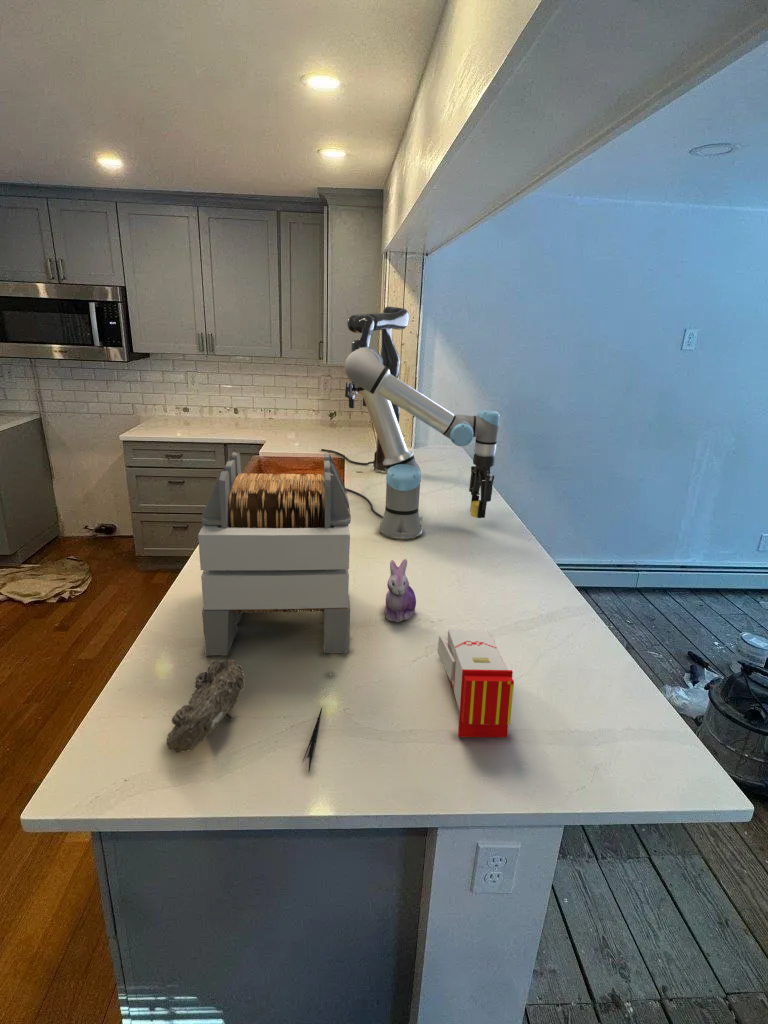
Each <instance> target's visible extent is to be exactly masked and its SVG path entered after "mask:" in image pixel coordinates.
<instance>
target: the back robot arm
mask: <svg viewBox="0 0 768 1024" xmlns="http://www.w3.org/2000/svg"><path fill="white" fill-rule="evenodd" d="M409 323H410V313H409V311H408V310H407V309H406V308H403V307H398V306H386V307H384V309H383V311H382V312H371V313H354V314H352V315H350V316H349V317H348V319H347V322H346V325H347V328H348V330H349V331H350V332H351V333H353V334H361V336H360V338H357V339H353V340H352V341H351V348H350V349H351V351H350V352H351V353H352V352H353V351H355V350H357V349H359V348H362V347H370V344H371V340H372V336H373V332H377V331H381V344H380V345H381V347H380V355H381V357H382V360H383V365H384V366H385V367H387V368H388V369H389V370H390V374H392V375H393V376H395V377H396V378H398V379H399V375H400V369H401V357H400V355H399V352H398V350H397V348H396V345H395V343H394V340H393V330H398V331H403V330H405V329H406V328H407V326H408V325H409ZM351 353H350V354H351ZM344 389H345V390H344V391H345V392H344V397H345V398H347V399H348V407H349V409H355V398H356V396H357V395H358V394H359V393H358V392H357V391H356V388H355V385H354V383H353V382H352V381H350V382H348V381H347V382H345V388H344ZM391 404H392V407H393V410H394V413H395V416H396V418H397V421H398V424H399V423H400V407H398V406H397V405H395V404H394V403H392V402H391ZM362 406H363V407H367V406H366V403H365V400H364V397H363V396H362ZM399 425H400V424H399ZM320 450H321V452H328V453H333V454H336V455H339V456H341V457H342V458H344V459H345V460H346V461H347V462H349V463H351V464H355V465H359V466H368V465H373V471H375V472H377V473H379V474H386V471H385V468H384V465H383V462H384V460H385V456H384V453H383V450H382V447H381V445H380V442H379V439H378V436H377V435H376V449H375V450H374V455H373V456H374V458H373V461H368V462H359V461H354V460H351V459H349V458H348V457H346V456H345V454H344V453H342V452H338V451H335V450H331V449H325V448H321V449H320Z"/></svg>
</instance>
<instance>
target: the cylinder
mask: <svg viewBox="0 0 768 1024" xmlns="http://www.w3.org/2000/svg"><path fill="white" fill-rule="evenodd" d="M478 507H479V501H472V503H471V502H470V508H471V512H470V511H469V515H470V516H471V517H472V518H476V519H478V518H477V516H478Z"/></svg>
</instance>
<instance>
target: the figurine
mask: <svg viewBox="0 0 768 1024" xmlns="http://www.w3.org/2000/svg"><path fill="white" fill-rule="evenodd" d="M407 567H408V559H406V558H404V559H403V560H402V561H401V563H400V565H399V566H398V565H397V563H396V562H395V561H394V560H393V559H391V560H390V561H389V570H390V576H389V578H388V579H387V589H388V591H387V592H386V594H385V595H386V596H385V607H384V615H385V616H386V620H387V621H391V622H395V623H400V622H402V621H406V620H409V619H410V618H411V617H413V616H414V615H415V610H416V606H417V597H416V593H415V591H414V590H413V587H411V586H410V582H409V579H408V577H407V574H406V571H407Z"/></svg>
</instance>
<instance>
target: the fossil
mask: <svg viewBox="0 0 768 1024" xmlns="http://www.w3.org/2000/svg"><path fill="white" fill-rule="evenodd" d="M243 670H244V669H243V667H242V665H240V664H237V662H236V661H235V660H234V659H232V658H231V659H227V658H226V659H224V660H223V661H222V660H217V659H212V660H211V661H210V663H209V665H208V666H207V671H201V672H199V673H198V674H197V675H196V676H195V680H194V684H195V685H194V687H195V689H194V690H193V693H192V694H191V697H190V698H189V700H188V704H184V705H182V706H181V707H180V709H177V710H176V711H175V713H174V715H173V716H172V718H171V723H172V724H173V727H172V730H171V731H170V732H168V734H167V738H166V741H167V742H166V745H167V749H168V750H169V751H173V752H174V753H176V754H178V753H182V752H188V751H189V752H192V751H193V750H195V748H196V747H197V746H199V744H200V743H201V742H203V741H204V740H205V739H206V738H207V737H208V736H209V735H210V734H211V733H212V732H214V730H215V729H217V727H218V726H219V724H220V722H221V721H222V720H223V719H224V718H225V716H226V717H227V719H229V720H233V717H232V715H230V714H229V710H230V709H231V708H234V706H235V704H236V703H237V702H238V699H239V697H240V695H241V693H242V691H243V690H245V689H244V688H245V675H244V671H243Z"/></svg>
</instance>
